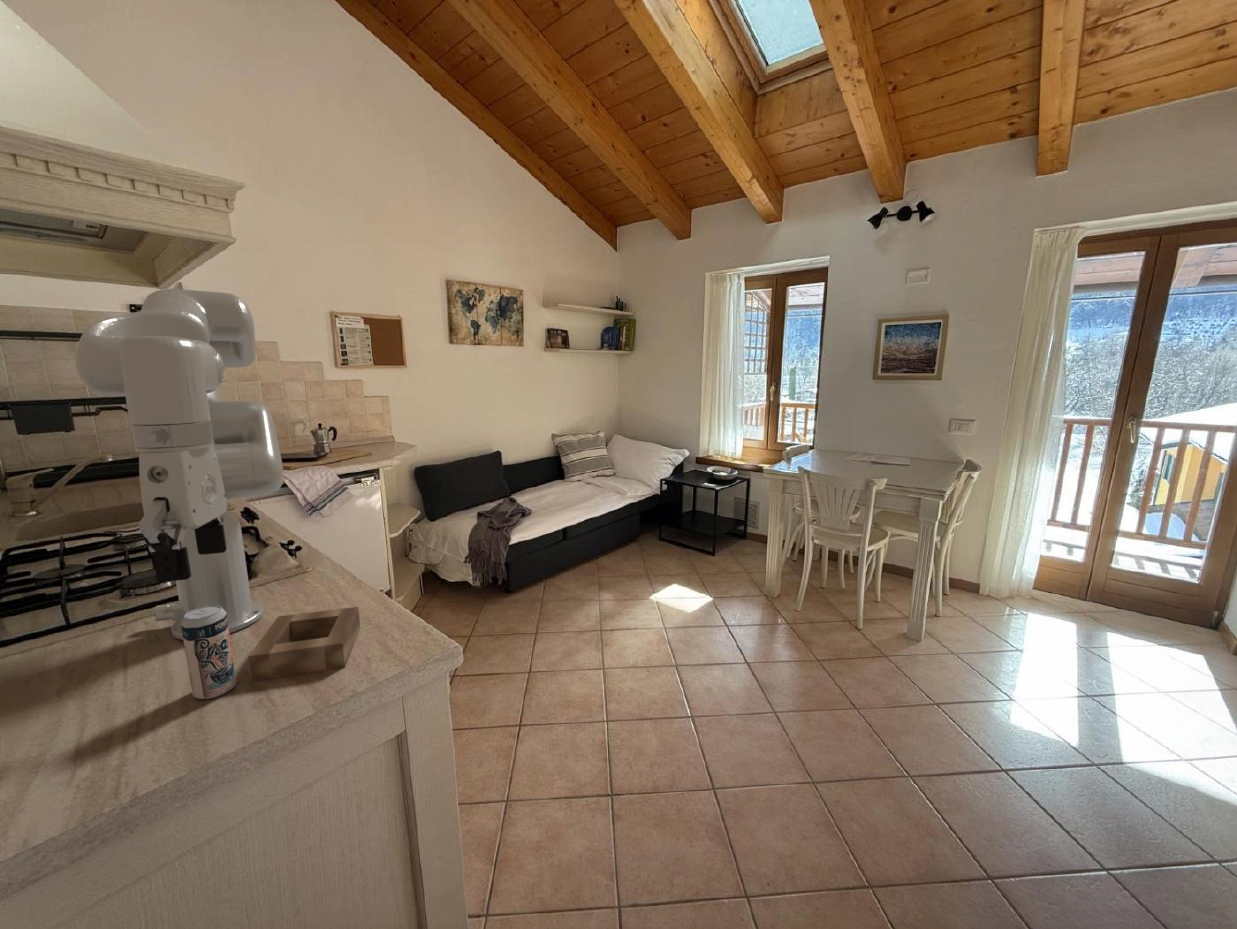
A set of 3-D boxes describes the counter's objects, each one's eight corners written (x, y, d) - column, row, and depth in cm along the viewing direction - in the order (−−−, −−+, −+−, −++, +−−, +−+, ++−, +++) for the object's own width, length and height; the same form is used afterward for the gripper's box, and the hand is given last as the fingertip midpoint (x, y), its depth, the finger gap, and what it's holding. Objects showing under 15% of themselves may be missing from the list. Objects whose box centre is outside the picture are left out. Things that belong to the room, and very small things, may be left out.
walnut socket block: (252, 681, 71) (248, 656, 70) (280, 638, 82) (278, 616, 81) (345, 667, 74) (342, 643, 74) (360, 628, 86) (358, 606, 85)
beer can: (212, 704, 66) (199, 622, 64) (184, 699, 67) (169, 618, 65) (246, 682, 71) (234, 605, 68) (218, 678, 71) (206, 601, 69)
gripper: (173, 445, 55) (196, 588, 58) (239, 429, 71) (254, 542, 74) (87, 447, 53) (116, 597, 56) (175, 430, 69) (194, 547, 72)
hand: (195, 565), depth 65 cm, fingers open, 9 cm apart
